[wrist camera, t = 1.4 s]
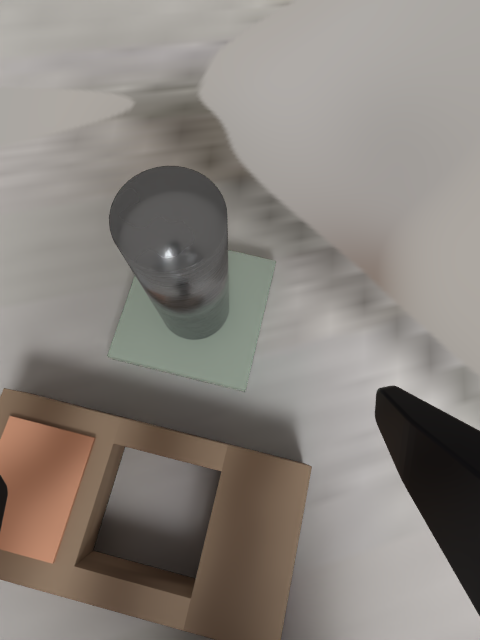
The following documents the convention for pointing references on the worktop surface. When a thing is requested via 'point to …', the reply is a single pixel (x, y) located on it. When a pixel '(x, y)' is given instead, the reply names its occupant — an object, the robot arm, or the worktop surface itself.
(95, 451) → the brown slotted block
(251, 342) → the pale green square plate
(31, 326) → the worktop surface
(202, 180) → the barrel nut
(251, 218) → the worktop surface
